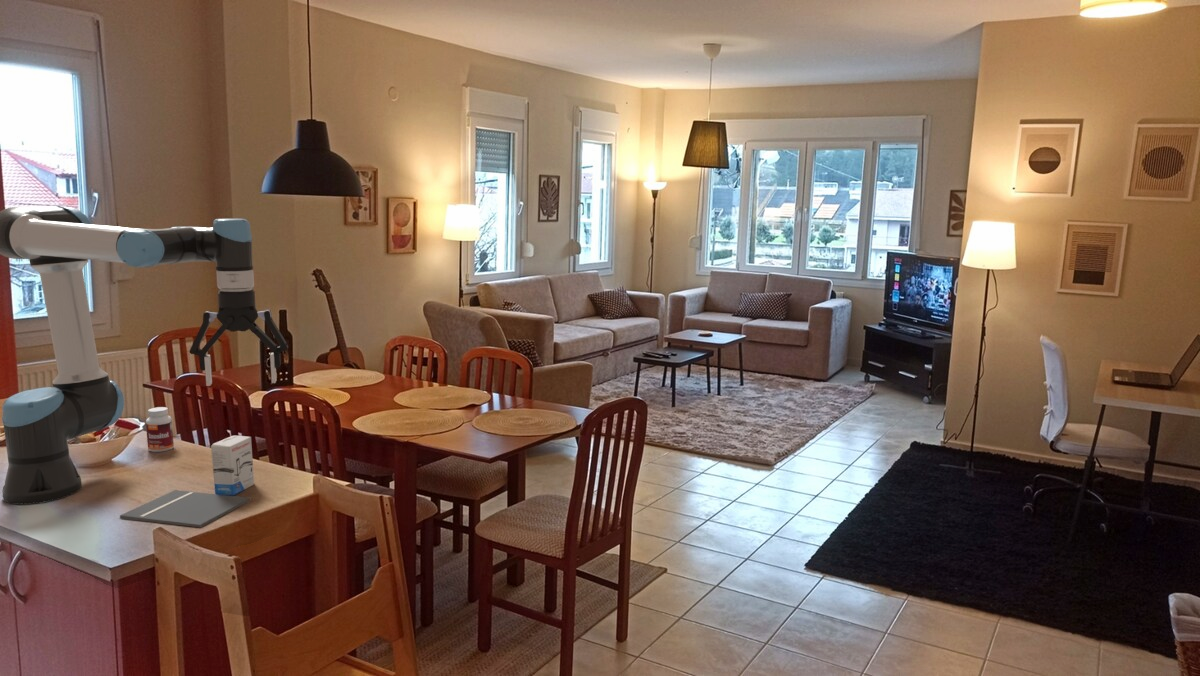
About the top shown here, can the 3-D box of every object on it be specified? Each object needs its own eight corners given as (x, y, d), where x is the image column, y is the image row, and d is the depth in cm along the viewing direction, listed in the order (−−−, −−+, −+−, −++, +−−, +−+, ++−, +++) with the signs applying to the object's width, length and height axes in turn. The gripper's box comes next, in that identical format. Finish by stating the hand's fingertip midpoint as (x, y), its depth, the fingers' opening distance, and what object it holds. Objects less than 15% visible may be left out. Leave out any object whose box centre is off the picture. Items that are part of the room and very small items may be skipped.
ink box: (233, 496, 193) (229, 446, 191) (213, 494, 194) (209, 445, 192) (255, 483, 202) (252, 435, 200) (236, 482, 203) (233, 434, 201)
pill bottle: (146, 453, 225) (142, 413, 223) (149, 447, 230) (145, 407, 228) (173, 451, 227) (169, 410, 225) (175, 444, 233) (171, 405, 231)
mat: (120, 518, 181) (119, 514, 180) (175, 492, 196) (175, 489, 196) (200, 527, 175) (200, 524, 175) (250, 500, 191) (250, 497, 191)
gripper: (170, 292, 182) (177, 389, 186) (294, 290, 188) (299, 384, 192) (178, 288, 189) (185, 381, 193) (297, 286, 195) (301, 377, 199)
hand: (242, 383), depth 192 cm, fingers open, 13 cm apart
